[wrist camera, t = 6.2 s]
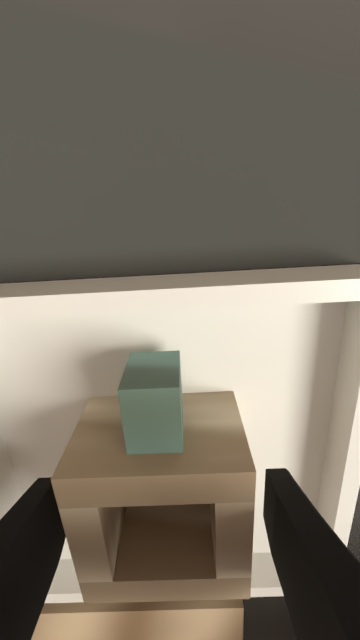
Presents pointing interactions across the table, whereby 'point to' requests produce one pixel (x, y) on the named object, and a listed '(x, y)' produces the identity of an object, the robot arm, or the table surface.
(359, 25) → the table surface
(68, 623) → the tan base plate
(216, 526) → the collar
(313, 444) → the tray
